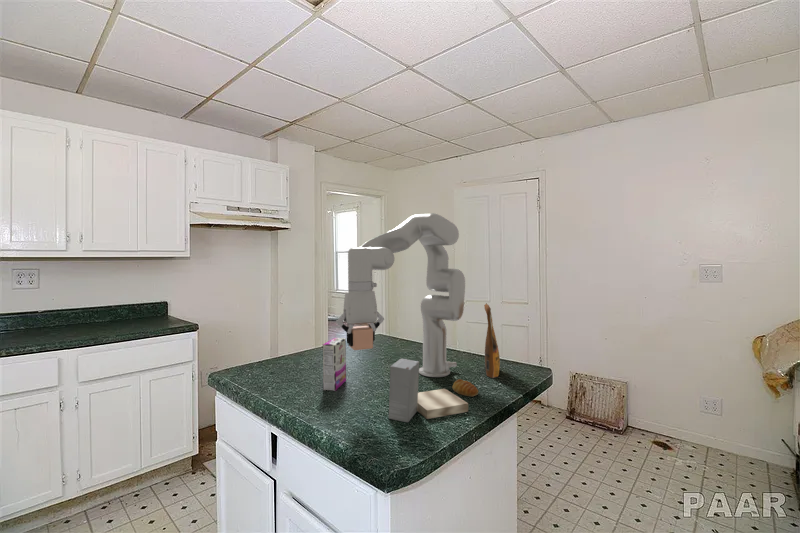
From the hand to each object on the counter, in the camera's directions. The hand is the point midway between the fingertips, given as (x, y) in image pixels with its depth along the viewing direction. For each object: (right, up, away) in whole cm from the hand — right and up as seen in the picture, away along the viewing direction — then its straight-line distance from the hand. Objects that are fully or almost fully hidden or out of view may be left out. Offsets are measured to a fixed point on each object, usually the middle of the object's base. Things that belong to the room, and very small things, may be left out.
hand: (360, 343), depth 117 cm
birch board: (+24, -20, 0) cm, 31 cm away
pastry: (+35, -20, +13) cm, 42 cm away
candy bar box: (-11, -19, +18) cm, 29 cm away
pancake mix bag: (+50, -19, +36) cm, 64 cm away
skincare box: (+13, -20, -7) cm, 25 cm away
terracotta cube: (0, -1, 0) cm, 1 cm away
